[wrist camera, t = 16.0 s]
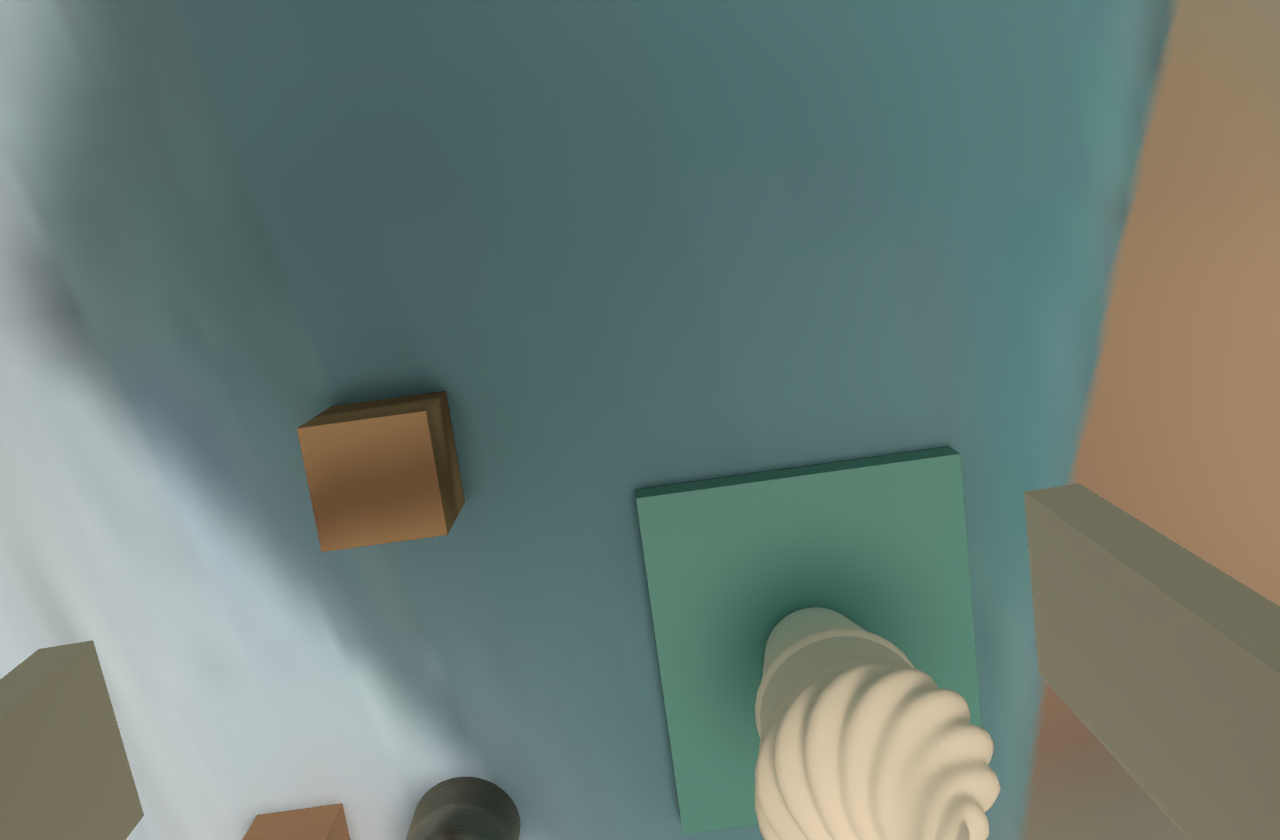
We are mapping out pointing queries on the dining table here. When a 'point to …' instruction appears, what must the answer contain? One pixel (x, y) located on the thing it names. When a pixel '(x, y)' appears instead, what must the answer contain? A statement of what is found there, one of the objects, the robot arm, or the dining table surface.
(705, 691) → the teal board
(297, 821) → the terracotta block
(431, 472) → the walnut cube
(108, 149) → the dining table surface
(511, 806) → the dark metal cylinder
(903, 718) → the soft serve ice cream cone
